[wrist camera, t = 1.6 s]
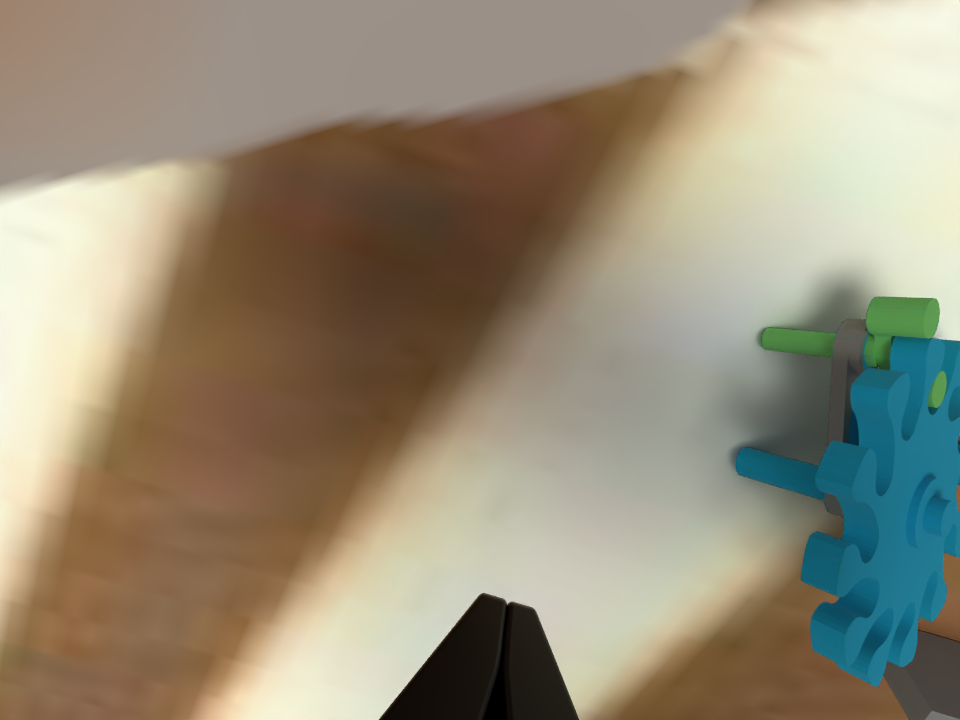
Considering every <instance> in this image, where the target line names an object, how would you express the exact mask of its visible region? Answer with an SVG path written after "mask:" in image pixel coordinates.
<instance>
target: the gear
mask: <svg viewBox="0 0 960 720" xmlns="http://www.w3.org/2000/svg"><path fill="white" fill-rule="evenodd" d="M939 314H940V309H939V303H938V301H937V299H935V298H907V297H874V298H873V299H872V301H871V302H870V304H869V307H868V310H867V316H866V320H857V319H847V320H845V321H844V322H843V323H842V324H841V325H840V327H839V329H838V331H837V333H828V332H815V331H803V330H791V329H779V328H767V329H766V330H765V331H764V333H763V336H762V345H763V348H764V349H765V350H773V351H782V352H791V353H799V354H808V355H817V356H826V357H832V373H831V391H830V409H829V426H828V444H827V450H826V452H825V454H824V456H823V458H822V460H821V463H820V465H819V466H816V465H813V464H809V463H805V462H801V461H797V460H793V459H790V458H786V457H782V456H778V455H774V454H770V453H767V452H763V451H759V450H755V449H751V448H747V447H745V448H743V449H741V451H740V452H739V454H738V456H737V459H736V465H735V466H736V472H737V473H738V474H739V475H741V476H745V477H748V478H751V479H754V480H758V481H761V482H764V483H768V484H771V485H774V486H777V487H781V488H784V489H787V490H790V491H794V492H797V493H800V494H804V495H807V496H810V497H813V498H817V499H820V500H823V501H825V506H826V509H827V511H828V512H829V513H832V514H835V515H838V516H842V517H844V530H843V534H842V538H841V539H838V538H835V537H832V536H829V535H826V534H823V533H820V532H814V533H812V534H811V535H810V536H809V539H808V542H807V545H806V549H805V553H804V559H803V565H802V573H801V580H802V581H803V582H804V583H807V584H809V585H811V586H814V587H816V588H818V589H821V590H823V591H826V592H828V593H830V594H833V595H835V596H837V597H840V598H839V599H838V601H836V602H835V603H833V604H831V603H827V602H823V603H821V604H820V605H819V606H818V607H817V609H816V610H815V612H814V613H813V615H812V617H811V625H810V630H811V641H812V646H813V650H814V651H815V652H817V653H819V654H821V655H823V656H825V657H827V658H829V659H831V660H833V661H835V662H836V664H837V666H838V667H839V668H840V669H842V670H844V671H846V672H848V673H850V674H852V675H854V676H855V677H857V678H859V679H861V680H863V681H865V682H867V683H869V684H871V685H873V686H875V687H878V685H879V683H880V681H881V679H882V677H883V674H884V671H885V668H886V663H887V661H889V662H891V663H893V664H895V665H897V666H900V667H904V666H906V665H907V664H909V663H910V662H911V661H912V660H913V658H914V655H915V651H916V647H917V630H918V620H919V617H921V618H923V619H926V620H928V621H931V622H933V621H934V620H935V618H936V617H937V616H938V614H939V612H940V611H941V609H942V607H943V605H944V603H945V601H946V595H947V587H946V584H945V582H944V578H943V554H944V553H946V554H949V555H952V556H955V557H959V556H960V514H959V511H958V507H957V501H956V488H957V484H958V485H960V444H958V438H959V433H960V341H952V340H940V339H934V338H932V336H933V335H934V334H935V332H936V329H937V326H938V322H939ZM878 367H879V369H878Z"/></svg>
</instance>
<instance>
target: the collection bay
mask: <svg viewBox="0 0 960 720" xmlns="http://www.w3.org/2000/svg"><path fill="white" fill-rule="evenodd" d="M883 676H884V678H885V679H886V681H887V683H888V684H889V686H890V688H891V690H892V691H893V693H894V695H895V696H896V698H897V700H898V702H899V703H900V705H901V707H902V708H903V710H904V712H905V714H906V715H907V717H908V719H909V720H960V642H957V641H953V640H950V639H947V638H943V637H940V636H936V635H933V634H930V633H926V632H923V631H919V630H917V647H916V651H915V655H914V658H913V660H912V661H911V662H910V663H909V664H907V665H906V666H904V667H900V666H897V665H895V664H893V663H891V662H889V661H887V663H886V668H885V671H884V674H883Z"/></svg>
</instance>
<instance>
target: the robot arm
mask: <svg viewBox="0 0 960 720" xmlns="http://www.w3.org/2000/svg"><path fill="white" fill-rule="evenodd" d="M379 720H579V718H578V715H577V713H576V710H575V708H574V705H573V703H572V700H571V698H570V695H569V693H568V690H567V688H566V685H565V683H564V680H563V678H562V675H561V673H560V670H559V668H558V665H557V663H556V660H555V658H554V655H553V653H552V650H551V648H550V645H549V643H548V640H547V638H546V635H545V633H544V630H543V627H542V625H541V622H540V620H539V617H538V615H537V613H536V611H535V610H534V609H533V608H532V607H529V606H526V605H522V604H519V603H516V602H509V603H508V604H507V602H506V600H505V599H503V598H499V597H496V596H493V595H489V594H486V593H482V594H480V595H479V596H478V597H477V599H476V600H475V601H474V602H473V604H472V605H471V606H470V607H469V608H468V610H467V611H466V612H465V613H464V615H463V616H462V617H461V618H460V620H459V621H458V622H457V623H456V625H455V626H454V627H453V628H452V630H451V631H450V632H449V633H448V635H447V636H446V637H445V638H444V639H443V641H442V642H441V643H440V644H439V646H438V647H437V648H436V649H435V651H434V652H433V653H432V654H431V656H430V657H429V658H428V659H427V661H426V662H425V663H424V664H423V666H422V667H421V668H420V669H419V671H418V672H417V673H416V674H415V675H414V677H413V678H412V679H411V680H410V682H409V683H408V684H407V685H406V687H405V688H404V689H403V690H402V692H401V693H400V694H399V695H398V697H397V698H396V699H395V700H394V702H393V703H392V704H391V705H390V707H389V708H388V709H387V710H386V711H385V713H384V714H383V715H382V716H381V718H380V719H379Z"/></svg>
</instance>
